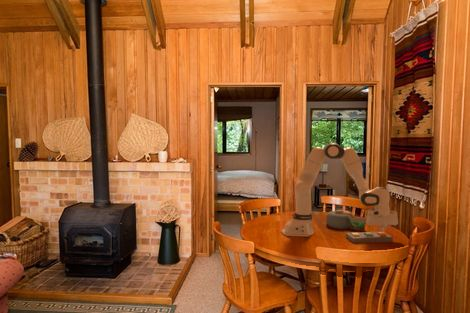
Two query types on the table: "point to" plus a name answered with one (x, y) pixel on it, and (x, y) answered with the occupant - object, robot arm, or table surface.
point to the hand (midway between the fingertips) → (382, 231)
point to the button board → (369, 238)
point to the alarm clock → (339, 219)
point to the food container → (357, 223)
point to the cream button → (355, 234)
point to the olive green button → (368, 234)
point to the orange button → (381, 233)
